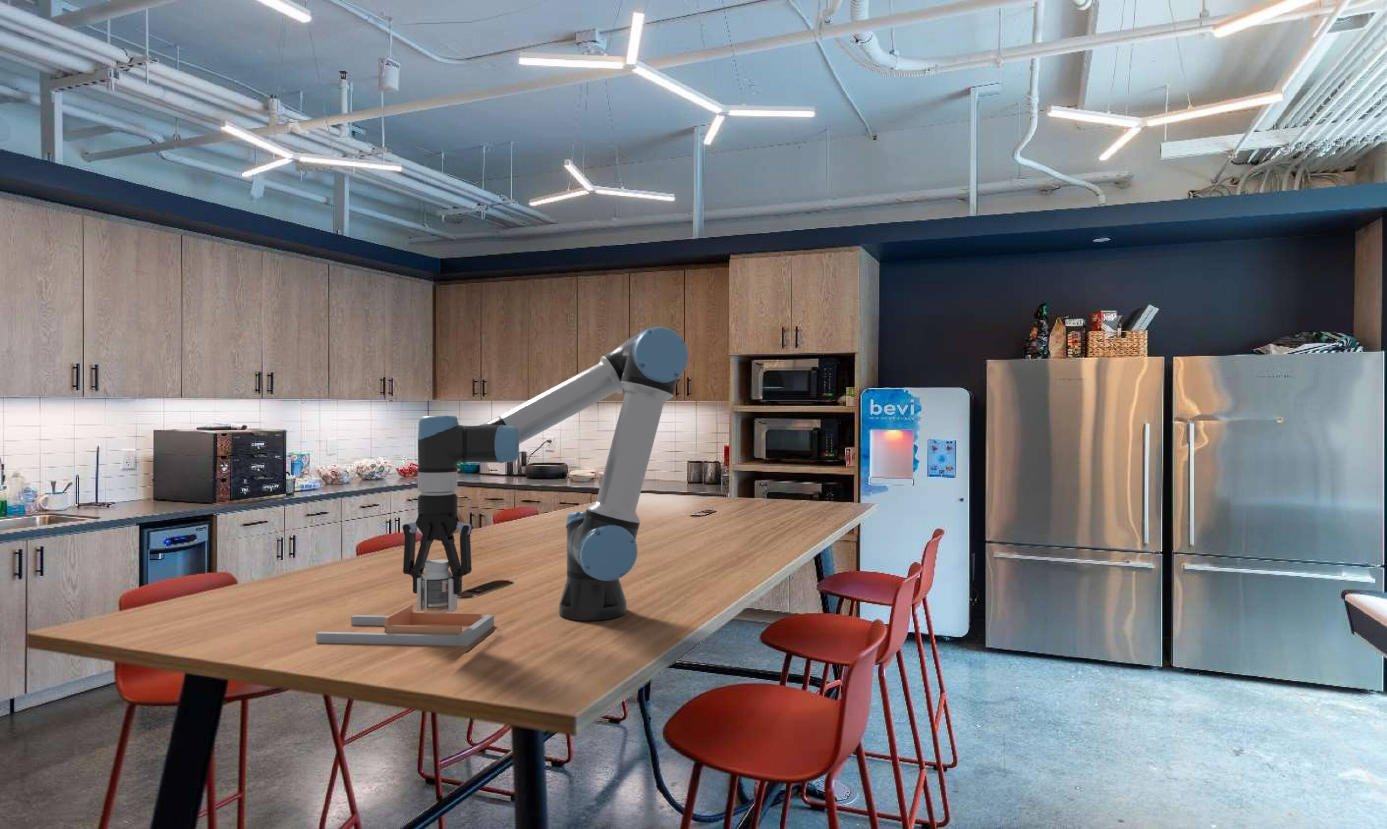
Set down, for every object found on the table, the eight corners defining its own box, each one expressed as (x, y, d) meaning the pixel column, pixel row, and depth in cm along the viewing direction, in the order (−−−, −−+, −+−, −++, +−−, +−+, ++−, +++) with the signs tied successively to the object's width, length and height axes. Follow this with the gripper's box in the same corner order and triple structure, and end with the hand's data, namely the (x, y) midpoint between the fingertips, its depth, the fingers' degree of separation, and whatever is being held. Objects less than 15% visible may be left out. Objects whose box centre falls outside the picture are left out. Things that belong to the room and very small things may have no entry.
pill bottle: (458, 609, 163) (458, 560, 163) (438, 616, 158) (438, 564, 158) (436, 606, 166) (436, 557, 166) (415, 612, 161) (416, 562, 161)
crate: (481, 627, 167) (481, 605, 167) (461, 642, 156) (461, 619, 156) (409, 626, 168) (409, 604, 168) (384, 641, 157) (384, 617, 157)
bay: (493, 631, 169) (493, 614, 169) (467, 652, 154) (467, 634, 154) (354, 629, 171) (354, 612, 171) (315, 649, 156) (315, 631, 156)
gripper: (490, 492, 165) (489, 606, 165) (400, 491, 167) (400, 604, 167) (476, 495, 157) (476, 615, 157) (383, 494, 159) (383, 613, 159)
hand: (437, 609), depth 162 cm, fingers closed on pill bottle, 6 cm apart
